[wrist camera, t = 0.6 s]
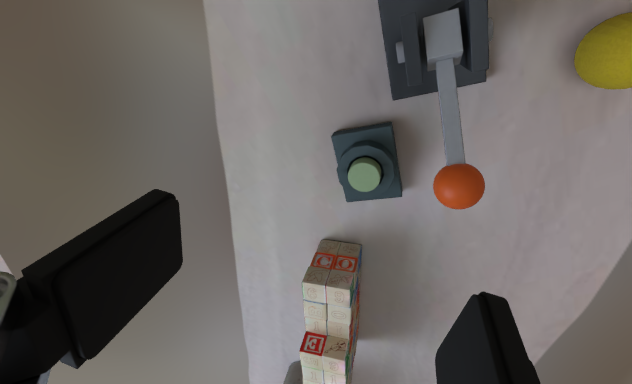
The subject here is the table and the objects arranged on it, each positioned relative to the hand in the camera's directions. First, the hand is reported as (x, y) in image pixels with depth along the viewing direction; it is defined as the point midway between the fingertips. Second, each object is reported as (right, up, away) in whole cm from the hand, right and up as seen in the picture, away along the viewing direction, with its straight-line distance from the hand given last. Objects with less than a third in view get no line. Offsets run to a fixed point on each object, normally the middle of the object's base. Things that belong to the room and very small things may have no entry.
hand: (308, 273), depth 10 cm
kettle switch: (+10, +8, +13) cm, 18 cm away
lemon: (+26, +16, +18) cm, 35 cm away
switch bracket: (+12, +18, +21) cm, 30 cm away
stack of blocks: (+4, -14, +40) cm, 43 cm away
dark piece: (+7, +6, +28) cm, 30 cm away
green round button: (+6, +5, +26) cm, 27 cm away
